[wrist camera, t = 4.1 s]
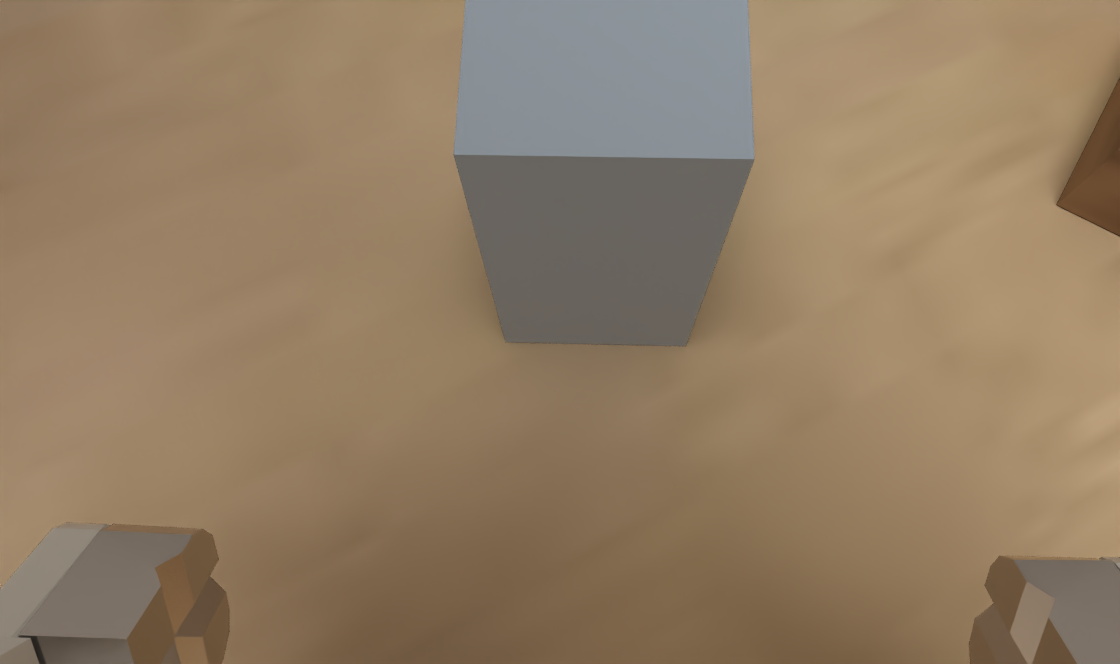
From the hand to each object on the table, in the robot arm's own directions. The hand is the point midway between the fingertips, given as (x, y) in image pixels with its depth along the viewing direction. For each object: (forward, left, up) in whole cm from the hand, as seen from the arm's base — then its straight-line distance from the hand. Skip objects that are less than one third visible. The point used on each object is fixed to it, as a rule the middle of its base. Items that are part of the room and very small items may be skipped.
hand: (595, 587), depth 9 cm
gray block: (-4, +8, -13) cm, 16 cm away
